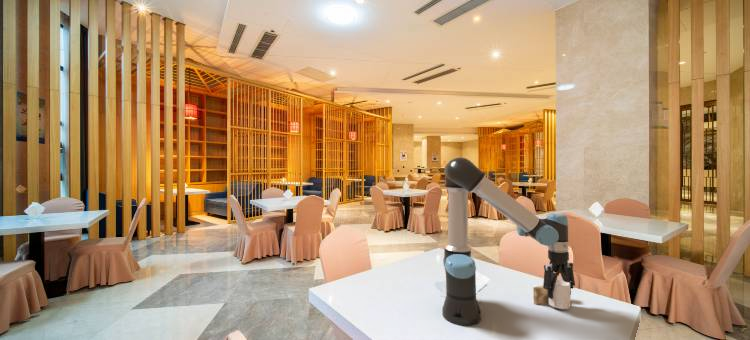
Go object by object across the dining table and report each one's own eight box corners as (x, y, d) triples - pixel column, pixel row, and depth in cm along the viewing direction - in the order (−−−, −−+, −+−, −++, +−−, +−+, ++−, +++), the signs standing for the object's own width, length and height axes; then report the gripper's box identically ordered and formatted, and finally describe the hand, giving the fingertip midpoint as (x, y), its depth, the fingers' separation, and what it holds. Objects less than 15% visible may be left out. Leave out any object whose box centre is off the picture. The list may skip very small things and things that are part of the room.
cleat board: (541, 307, 124) (541, 290, 124) (533, 303, 128) (533, 287, 128) (569, 301, 129) (569, 285, 129) (561, 297, 132) (561, 282, 132)
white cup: (574, 310, 119) (573, 286, 119) (553, 309, 120) (552, 285, 120) (566, 302, 126) (565, 279, 127) (546, 301, 128) (545, 278, 128)
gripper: (547, 255, 117) (548, 312, 117) (584, 250, 123) (586, 304, 123) (531, 250, 124) (533, 304, 124) (568, 245, 130) (569, 296, 130)
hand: (559, 304), depth 123 cm, fingers closed on white cup, 7 cm apart
